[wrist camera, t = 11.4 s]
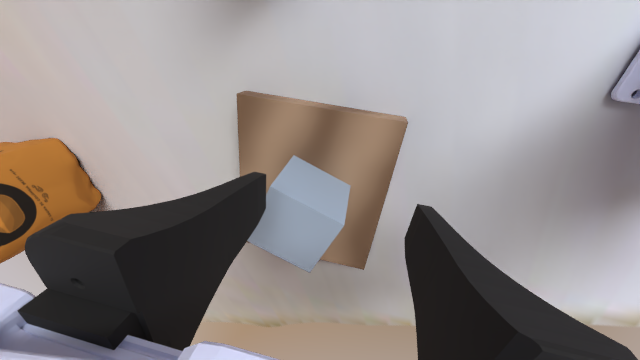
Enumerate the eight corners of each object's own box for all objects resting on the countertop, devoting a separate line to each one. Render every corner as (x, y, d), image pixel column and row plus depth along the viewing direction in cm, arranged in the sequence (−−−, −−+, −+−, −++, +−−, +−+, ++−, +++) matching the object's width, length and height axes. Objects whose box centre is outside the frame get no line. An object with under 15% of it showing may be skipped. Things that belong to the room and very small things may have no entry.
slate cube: (350, 185, 19) (344, 225, 15) (322, 228, 22) (309, 272, 17) (293, 155, 19) (270, 186, 14) (271, 201, 21) (245, 240, 17)
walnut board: (405, 117, 18) (407, 122, 16) (364, 257, 24) (363, 269, 23) (246, 90, 19) (236, 93, 17) (249, 231, 26) (242, 241, 24)
